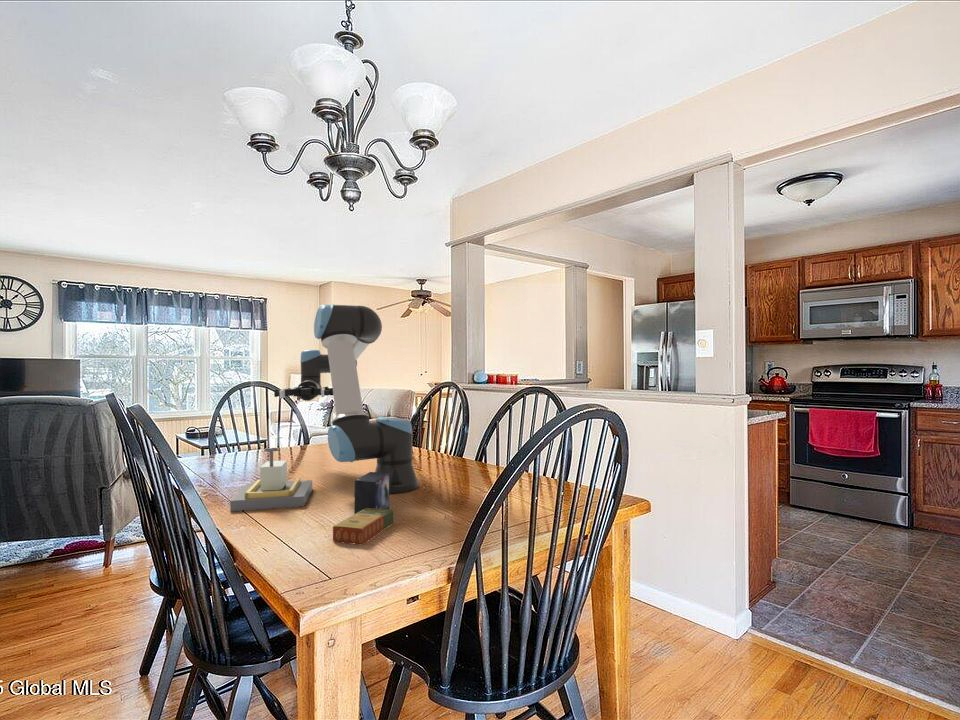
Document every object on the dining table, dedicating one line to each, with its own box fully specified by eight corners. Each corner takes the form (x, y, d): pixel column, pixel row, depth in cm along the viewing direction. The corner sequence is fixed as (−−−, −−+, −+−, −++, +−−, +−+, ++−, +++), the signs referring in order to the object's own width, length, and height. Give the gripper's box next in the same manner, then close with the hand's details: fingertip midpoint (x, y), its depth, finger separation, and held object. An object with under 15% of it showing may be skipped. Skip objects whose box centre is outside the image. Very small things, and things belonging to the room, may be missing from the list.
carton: (332, 543, 122) (331, 525, 122) (366, 522, 138) (365, 506, 138) (363, 546, 120) (363, 528, 120) (394, 524, 135) (394, 508, 135)
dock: (312, 489, 171) (312, 475, 171) (304, 506, 151) (303, 491, 151) (247, 493, 167) (247, 479, 167) (230, 511, 147) (230, 495, 147)
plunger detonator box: (287, 485, 164) (286, 443, 164) (282, 492, 155) (281, 447, 155) (267, 486, 163) (266, 443, 163) (260, 494, 154) (260, 448, 154)
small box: (376, 520, 138) (375, 481, 138) (353, 518, 140) (352, 480, 139) (390, 508, 149) (390, 472, 148) (369, 507, 150) (369, 471, 150)
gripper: (341, 399, 202) (339, 403, 181) (273, 401, 196) (263, 406, 176) (341, 379, 202) (339, 382, 181) (273, 381, 196) (262, 383, 176)
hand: (301, 393), depth 178 cm, fingers open, 13 cm apart
